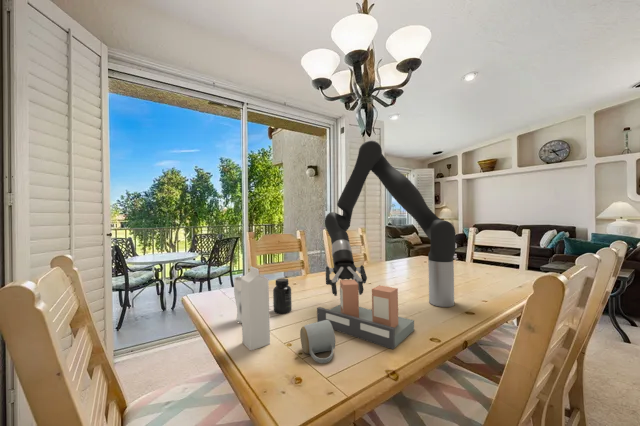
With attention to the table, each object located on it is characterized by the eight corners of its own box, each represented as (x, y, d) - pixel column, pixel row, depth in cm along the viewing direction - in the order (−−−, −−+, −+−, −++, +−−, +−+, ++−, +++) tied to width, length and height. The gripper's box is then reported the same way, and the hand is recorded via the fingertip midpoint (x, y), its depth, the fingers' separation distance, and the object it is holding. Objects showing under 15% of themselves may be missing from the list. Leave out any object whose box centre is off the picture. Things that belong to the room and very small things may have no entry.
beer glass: (259, 317, 98) (258, 276, 98) (248, 325, 91) (246, 280, 91) (242, 315, 100) (241, 274, 100) (230, 323, 94) (229, 279, 93)
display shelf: (343, 310, 103) (343, 296, 103) (414, 329, 85) (413, 312, 85) (316, 324, 91) (316, 308, 91) (392, 349, 73) (392, 329, 73)
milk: (250, 351, 74) (248, 271, 74) (242, 342, 79) (239, 267, 79) (270, 344, 78) (268, 267, 78) (261, 336, 83) (259, 264, 83)
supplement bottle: (290, 307, 108) (289, 276, 108) (292, 313, 101) (292, 281, 101) (273, 308, 106) (272, 278, 106) (274, 315, 100) (273, 282, 100)
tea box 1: (355, 311, 94) (354, 279, 94) (359, 318, 88) (358, 284, 88) (340, 312, 93) (339, 280, 93) (343, 319, 87) (342, 284, 87)
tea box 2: (380, 319, 86) (379, 285, 86) (398, 324, 82) (397, 288, 82) (372, 325, 82) (371, 289, 82) (390, 330, 78) (389, 292, 78)
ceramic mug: (299, 347, 76) (298, 319, 76) (326, 341, 79) (325, 315, 79) (310, 368, 66) (310, 336, 66) (341, 361, 69) (341, 331, 69)
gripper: (324, 249, 99) (328, 289, 88) (362, 248, 101) (371, 287, 89) (322, 260, 105) (326, 300, 93) (359, 259, 106) (367, 298, 95)
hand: (348, 294), depth 91 cm, fingers open, 8 cm apart
